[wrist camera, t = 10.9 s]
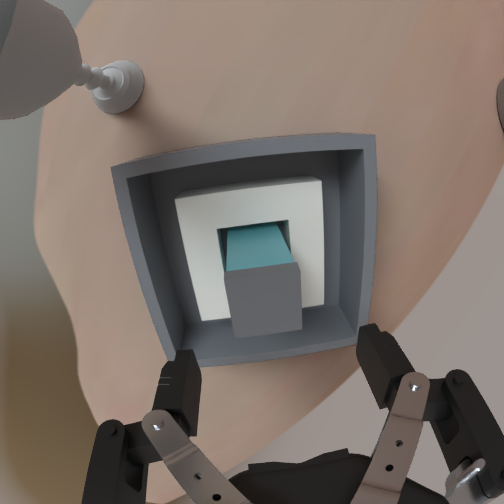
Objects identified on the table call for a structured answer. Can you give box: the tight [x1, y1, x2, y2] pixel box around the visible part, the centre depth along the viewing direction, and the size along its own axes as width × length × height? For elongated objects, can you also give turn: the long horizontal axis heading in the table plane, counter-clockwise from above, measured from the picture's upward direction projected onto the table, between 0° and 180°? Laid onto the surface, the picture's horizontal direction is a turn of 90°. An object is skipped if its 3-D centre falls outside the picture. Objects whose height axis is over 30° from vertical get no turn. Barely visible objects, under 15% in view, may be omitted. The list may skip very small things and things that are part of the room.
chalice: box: [0, 0, 144, 120], centre depth 11 cm, size 7×7×18 cm
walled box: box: [111, 133, 377, 367], centre depth 23 cm, size 18×18×6 cm
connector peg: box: [224, 221, 302, 339], centre depth 21 cm, size 4×4×10 cm
